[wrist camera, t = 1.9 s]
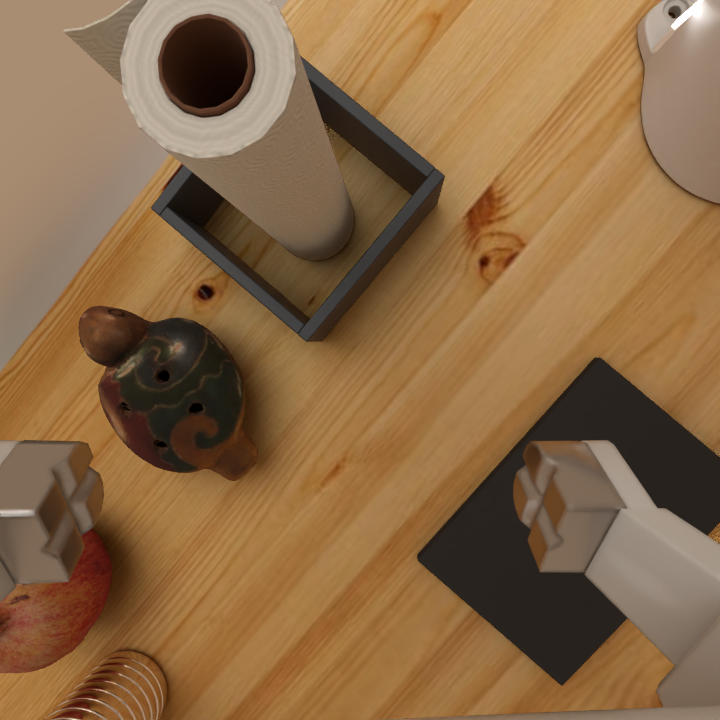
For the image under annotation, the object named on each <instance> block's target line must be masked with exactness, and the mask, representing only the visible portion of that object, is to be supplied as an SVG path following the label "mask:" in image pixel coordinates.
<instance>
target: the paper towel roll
mask: <svg viewBox="0 0 720 720" xmlns="http://www.w3.org/2000/svg"><path fill="white" fill-rule="evenodd" d="M64 32H65V33H66V34H67V35H68V36H69V37H70V38H71V39H72V40H73V41H75V42H76V43H77V44H78V45H79V46H80V47H81V48H82V49H83V50H84V51H85V52H87V53H88V54H89V55H90V56H91V57H92V58H93V59H94V60H95V61H96V62H97V63H98V64H100V65H101V66H102V67H103V68H104V69H105V70H106V71H107V72H108V73H109V74H111V76H113V77H114V78H115V79H116V80H117V81H118V82H119V83H120V84H121V85H122V86H123V96H124V98H125V100H126V101H127V104H128V106H129V108H130V110H131V112H132V114H133V115H134V117H135V119H136V121H137V123H138V125H139V127H140V129H141V130H143V131H144V132H145V133H146V134H147V135H149V136H150V137H151V138H152V139H153V140H154V141H156V142H157V143H158V144H159V145H160V146H161V147H163V148H164V149H165V150H166V151H167V152H168V153H170V154H171V155H172V156H173V157H175V158H176V159H177V160H178V161H180V162H181V163H182V164H183V165H184V166H186V167H187V168H188V169H189V170H191V171H192V172H193V173H194V174H195V175H197V176H198V177H199V178H200V179H202V180H203V181H204V182H205V183H206V184H208V185H209V186H210V187H211V188H213V189H214V190H215V191H216V192H217V193H219V194H220V195H221V196H222V197H224V198H225V199H226V200H227V201H228V202H230V203H231V204H232V205H233V206H235V207H236V208H237V209H238V210H239V211H241V212H242V213H243V214H244V215H246V216H247V217H248V218H249V219H251V220H252V221H253V222H254V223H255V224H257V225H258V226H259V227H260V228H262V229H263V230H264V231H265V232H266V233H268V234H269V235H270V236H271V237H273V238H274V239H275V240H276V241H277V242H279V243H280V244H281V245H282V246H284V247H285V248H286V249H287V250H288V251H290V252H291V253H292V254H293V255H295V256H297V257H300V258H303V259H306V260H309V261H313V260H324V259H327V258H329V257H331V256H333V255H335V254H336V253H338V252H340V251H341V249H342V248H343V247H344V246H345V245H346V243H347V242H348V241H349V240H350V237H351V233H352V230H353V227H354V214H353V207H352V204H351V201H350V198H349V195H348V192H347V190H346V187H345V184H344V181H343V178H342V175H341V172H340V169H339V167H338V164H337V161H336V158H335V155H334V152H333V149H332V146H331V143H330V141H329V138H328V135H327V132H326V129H325V126H324V123H323V120H322V118H321V115H320V112H319V109H318V106H317V103H316V100H315V97H314V95H313V92H312V89H311V86H310V83H309V80H308V77H307V74H306V71H305V69H304V66H303V63H302V60H301V57H300V54H299V51H298V48H297V46H296V43H295V40H294V37H293V35H292V33H291V31H290V30H289V28H288V26H287V24H286V22H285V20H284V18H283V16H282V14H281V12H280V10H279V8H278V6H277V5H276V4H274V3H273V2H272V1H271V0H129V1H128V2H126V3H125V4H124V5H122V6H121V7H120V8H118V9H117V10H116V11H115V12H113V13H112V14H110V15H109V16H107V17H105V18H103V19H100V20H98V21H96V22H94V23H91V24H89V25H87V26H84V27H82V28H73V29H64Z"/></svg>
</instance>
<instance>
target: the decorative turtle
mask: <svg viewBox="0 0 720 720" xmlns="http://www.w3.org/2000/svg"><path fill="white" fill-rule="evenodd" d="M79 336H80V342H81V345H82V347H83V348H84V350H85V352H86V354H87V355H88V356H89V357H90V358H91V359H92V360H93V361H95V362H97V363H98V364H101V365H103V366H106V367H107V368H106V370H105V373H104V375H103V376H102V378H101V380H100V382H99V385H98V388H99V396H100V401H101V405H102V407H103V410H104V412H105V414H106V417H107V419H108V420H109V422H110V424H111V426H112V427H113V429H114V430H115V432H116V433H117V435H118V436H119V437H120V439H121V440H122V441H123V442H124V443H125V444H126V445H127V447H128V448H130V449H131V450H132V451H133V452H134V453H135V454H136V455H137V456H139V457H140V458H142V459H143V460H145V461H146V462H148V463H150V464H152V465H153V466H155V467H158V468H161V469H164V470H167V471H172V472H178V473H192V472H195V471H199V470H202V469H210V470H212V471H214V472H216V473H219V474H220V475H222V476H223V477H225V478H227V479H228V480H231V481H236V480H239V479H240V478H242V477H243V476H244V475H245V474H246V473H247V472H248V471H249V470H250V469H251V467H252V466H253V465H254V464H255V462H256V460H257V458H258V450H257V448H256V445H255V444H254V442H253V441H252V440H251V438H250V437H249V436H248V434H247V433H246V432H245V431H244V429H243V428H242V426H241V424H242V420H243V416H244V409H245V390H244V384H243V380H242V377H241V374H240V370H239V368H238V366H237V364H236V362H235V360H234V358H233V357H232V355H231V354H230V353H229V351H228V350H227V348H226V347H225V346H224V345H223V344H222V342H221V341H220V340H219V339H218V338H217V337H216V336H215V335H214V334H213V333H212V332H211V331H209V330H208V329H207V328H205V327H204V326H202V325H200V324H198V323H197V322H195V321H192V320H188V319H184V318H170V319H165V320H162V321H158V322H150V321H146V320H145V319H143V318H141V317H139V316H137V315H135V314H133V313H131V312H128V311H126V310H122V309H118V308H112V307H105V306H95V307H91V308H89V309H87V310H86V311H85V312H84V313H83V315H82V316H81V318H80V321H79Z"/></svg>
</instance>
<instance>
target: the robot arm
mask: <svg viewBox="0 0 720 720" xmlns="http://www.w3.org/2000/svg"><path fill="white" fill-rule="evenodd" d="M668 13H673V14H674V15H675V18H671V17H670V16H669V14H668ZM637 39H638V44H639V48H640V52H641V56H642V59H643V62H644V66H645V73H644V83H643V90H642V97H641V117H642V125H643V130H644V134H645V137H646V140H647V143H648V145H649V148H650V150H651V152H652V154H653V156H654V157H655V159H656V161H657V162H658V163H659V165H660V166H661V168H662V169H663V170H664V171H665V172H666V173H667V174H668V176H669V177H670V178H671V179H673V180H674V181H675V182H676V183H677V184H679V185H680V186H681V187H683V188H684V189H686V190H687V191H689V192H690V193H692V194H694V195H696V196H698V197H701V198H703V199H705V200H708V201H711V202H715V203H719V204H720V0H662V1H661V2H659V3H658V4H657V5H656V6H655V7H653V8H652V9H651V10H650V11H649V12H648V13H647V14H646V15H645V16H644V17H643V18H642V19H641V21H640V22H639V24H638V28H637ZM522 456H523V458H524V460H525V463H526V465H525V466H524V467H522V468H521V469H520V470H519V471H517V473H516V477H515V480H514V484H513V499H514V504H515V509H516V511H517V514H518V517H519V520H520V521H521V522H523V523H524V524H525V525H526V526H527V527H529V528H530V529H531V532H530V535H529V537H528V543H529V546H530V548H531V551H532V553H533V556H534V558H535V561H536V563H537V566H538V568H539V571H540V572H586V573H585V576H586V577H587V578H588V579H589V580H590V581H591V582H592V583H593V584H594V585H595V586H596V587H597V588H598V589H599V590H600V591H601V592H602V593H603V594H604V595H605V596H606V597H607V598H608V599H609V600H610V601H611V602H612V603H613V604H614V605H615V606H616V607H617V608H618V609H619V610H620V611H621V612H622V613H623V614H624V615H625V616H626V617H627V618H628V619H629V620H630V621H631V622H632V623H633V624H634V625H635V626H636V627H637V628H638V629H639V630H640V631H641V632H642V633H643V634H644V635H645V636H646V637H647V638H648V639H649V640H650V641H651V642H652V643H653V644H654V645H655V646H656V647H657V648H658V649H659V650H660V651H661V652H662V653H663V654H664V655H665V656H666V657H667V658H668V659H669V660H670V661H671V662H672V663H673V664H674V665H675V666H674V667H673V669H672V670H671V671H670V672H669V673H668V674H667V675H666V676H665V678H664V679H663V680H662V681H661V682H660V683H659V686H658V688H657V690H656V692H657V694H658V696H659V698H660V700H661V703H662V705H663V707H660V708H637V709H614V710H591V711H568V712H544V713H521V714H498V715H475V716H452V717H428V718H405V719H382V720H720V544H719V543H718V542H716V541H714V540H713V539H711V538H710V537H708V536H707V535H705V534H704V533H702V532H701V531H699V530H698V529H696V528H695V527H693V526H692V525H690V524H689V523H687V522H686V521H684V520H683V519H681V518H679V517H678V516H676V515H675V514H673V513H672V512H670V511H669V510H667V509H665V508H657V507H656V505H655V504H654V502H653V501H652V499H651V498H650V496H649V495H648V494H647V492H646V491H645V489H644V488H643V486H642V485H641V483H640V482H639V480H638V479H637V477H636V476H635V475H634V473H633V472H632V470H631V469H630V467H629V466H628V464H627V463H626V461H625V460H624V459H623V457H622V456H621V454H620V453H619V451H618V450H617V448H616V447H615V445H614V444H612V443H611V442H609V441H608V440H592V441H530V442H529V443H528V444H527V446H526V447H525V450H524V453H523V455H522ZM92 459H93V454H92V452H91V450H90V447H89V445H88V443H84V442H80V441H37V440H24V441H11V440H0V602H1V601H2V600H3V599H4V598H5V597H6V596H7V595H8V594H10V593H11V592H12V591H13V590H14V589H15V588H16V584H37V583H58V582H69V580H70V578H71V576H72V574H73V572H74V570H75V568H76V565H77V563H78V561H79V559H80V557H81V555H82V552H83V550H84V548H85V546H84V543H83V541H82V538H81V536H82V535H83V534H85V533H86V532H87V531H88V530H90V529H91V528H92V527H93V526H95V524H96V522H97V520H98V517H99V515H100V513H101V509H102V503H103V498H104V490H103V482H102V479H101V476H100V474H99V473H98V472H96V471H95V470H94V469H92V468H91V467H90V466H89V464H90V462H91V460H92Z"/></svg>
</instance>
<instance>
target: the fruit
mask: <svg viewBox="0 0 720 720" xmlns="http://www.w3.org/2000/svg"><path fill="white" fill-rule="evenodd" d="M81 538H82V541H83V543H84V546H85V548H84V550H83V552H82V555H81V557H80V559H79V561H78V563H77V565H76V568H75V570H74V572H73V574H72V576H71V578H70V580H69V582H58V583H37V584H16V588H15V589H14V590H13V591H12V592H11V593H10V594H8V595H7V596H6V597H5V598H4V599H3V600H2V601H1V602H0V673H22V672H25V673H26V672H31V671H35V670H39V669H42V668H45V667H47V666H49V665H51V664H53V663H55V662H56V661H58V660H59V659H61V658H62V657H64V656H65V655H67V654H69V653H70V652H72V651H73V650H74V649H75V648H76V647H77V646H78V645H79V644H80V643H81V642H82V641H83V640H84V638H85V636H86V635H87V633H88V632H89V630H90V629H91V627H92V626H93V625H94V623H95V622H96V620H97V619H98V618H99V616H100V614H101V612H102V610H103V607H104V605H105V602H106V600H107V598H108V594H109V591H110V588H111V581H112V566H111V560H110V556H109V554H108V552H107V549H106V547H105V545H104V543H103V541H102V540H101V538H100V537H99V536H98V534H97V533H96V532H95V531H94V530H93V529H92V528H91V529H90V530H88V531H87V532H86V533H85V534H83V535H82V536H81Z"/></svg>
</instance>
